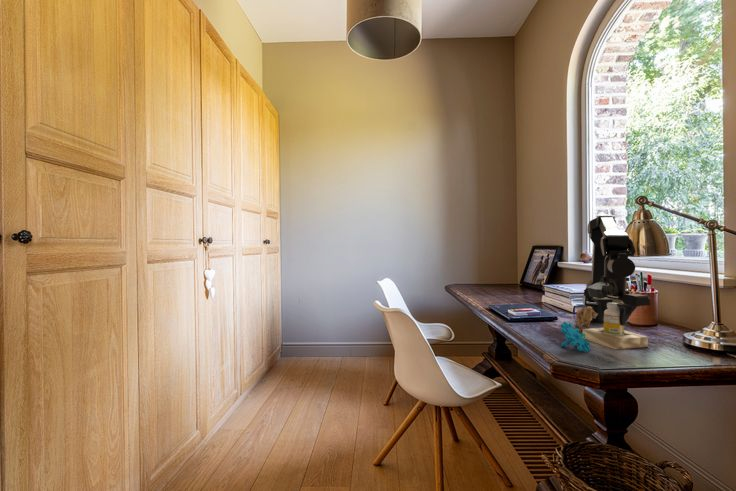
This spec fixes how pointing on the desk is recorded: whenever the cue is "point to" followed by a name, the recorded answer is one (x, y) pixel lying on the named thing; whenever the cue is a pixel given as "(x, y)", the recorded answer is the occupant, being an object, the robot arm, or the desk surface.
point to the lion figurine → (585, 316)
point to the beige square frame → (616, 339)
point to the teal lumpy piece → (574, 337)
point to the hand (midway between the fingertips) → (614, 323)
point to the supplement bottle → (613, 320)
